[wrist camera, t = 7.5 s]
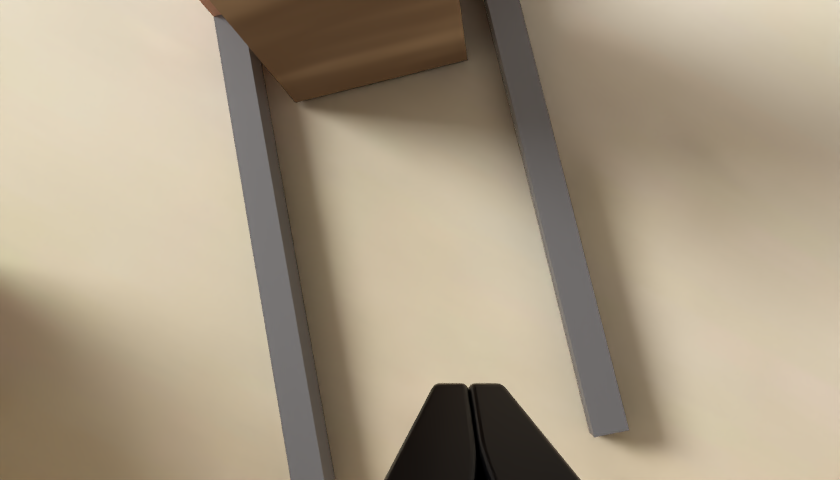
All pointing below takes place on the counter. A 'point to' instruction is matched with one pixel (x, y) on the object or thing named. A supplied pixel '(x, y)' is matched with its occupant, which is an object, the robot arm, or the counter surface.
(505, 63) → the twin grey rails
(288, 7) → the brown wooden tall block
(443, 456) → the robot arm
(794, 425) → the counter surface
